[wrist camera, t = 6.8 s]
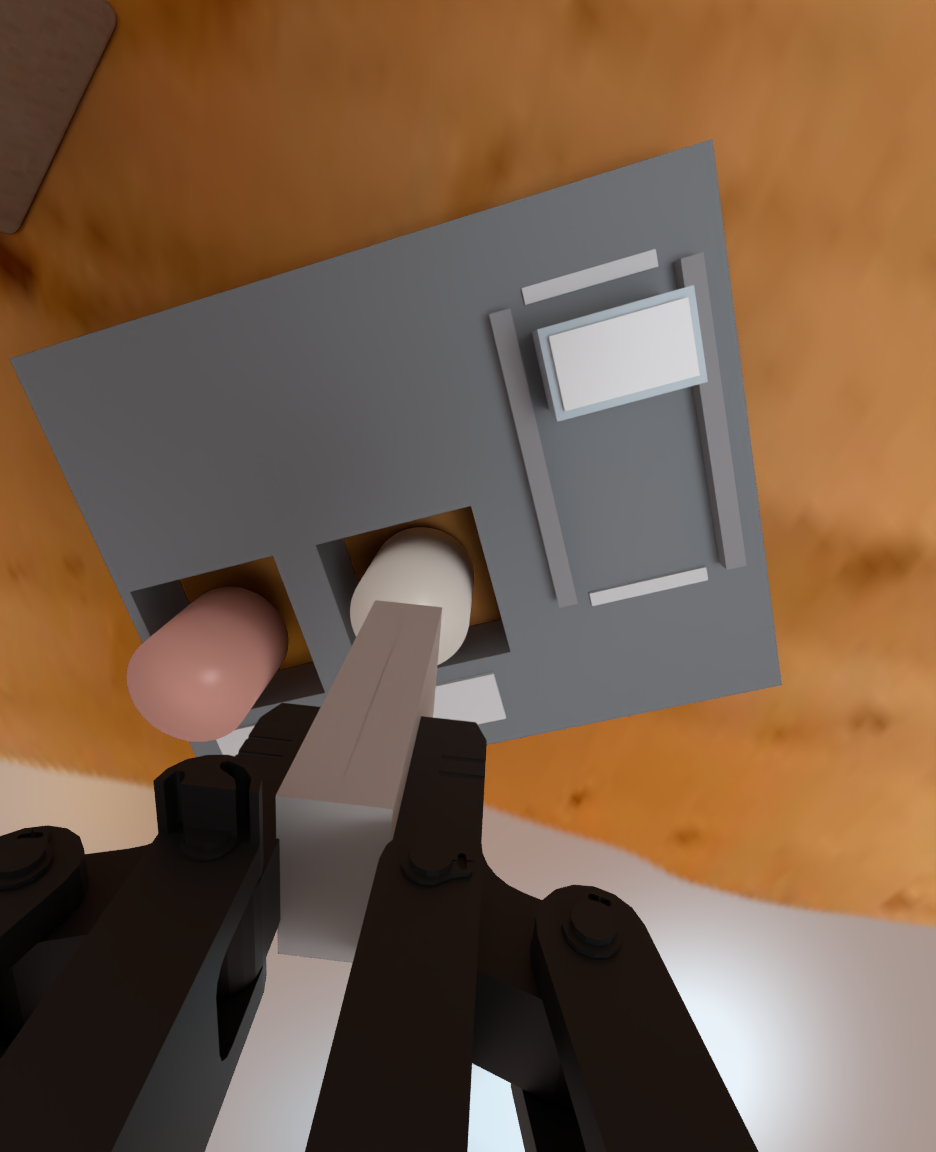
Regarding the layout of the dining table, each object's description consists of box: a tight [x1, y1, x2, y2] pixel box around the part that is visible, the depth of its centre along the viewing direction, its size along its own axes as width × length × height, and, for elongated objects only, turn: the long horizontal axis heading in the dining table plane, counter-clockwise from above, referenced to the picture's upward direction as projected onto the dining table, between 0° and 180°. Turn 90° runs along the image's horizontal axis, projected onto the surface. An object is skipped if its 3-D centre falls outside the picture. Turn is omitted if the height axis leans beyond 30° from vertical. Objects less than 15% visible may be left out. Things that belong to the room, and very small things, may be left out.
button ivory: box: [350, 527, 474, 665], centre depth 29 cm, size 5×5×5 cm
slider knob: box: [532, 285, 708, 422], centre depth 23 cm, size 3×5×4 cm, turn 105°
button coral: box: [127, 587, 288, 742], centre depth 28 cm, size 5×5×5 cm
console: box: [10, 139, 782, 757], centre depth 29 cm, size 22×28×5 cm
